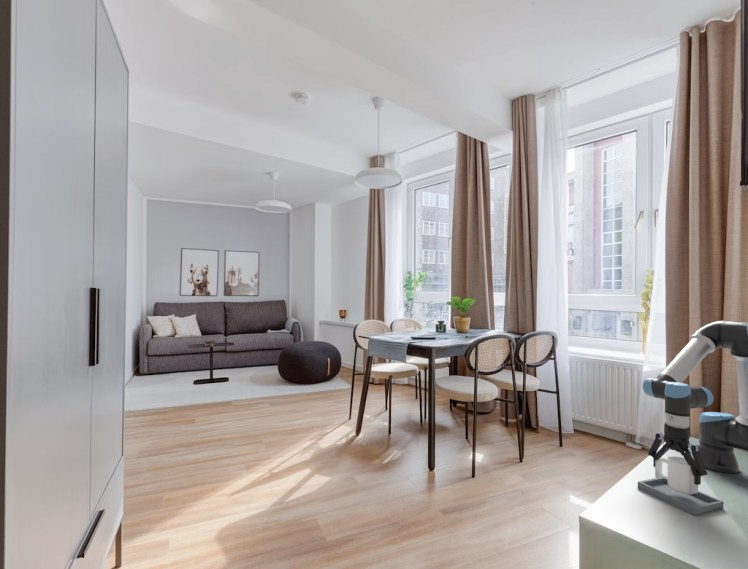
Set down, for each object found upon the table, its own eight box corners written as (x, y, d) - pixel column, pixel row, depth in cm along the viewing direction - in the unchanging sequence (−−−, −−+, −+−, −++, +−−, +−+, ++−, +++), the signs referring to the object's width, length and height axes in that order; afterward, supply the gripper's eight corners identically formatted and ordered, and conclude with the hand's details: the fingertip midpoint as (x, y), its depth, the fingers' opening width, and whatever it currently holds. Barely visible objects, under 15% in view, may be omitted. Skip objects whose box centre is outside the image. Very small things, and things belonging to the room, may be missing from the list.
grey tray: (664, 482, 157) (664, 476, 158) (723, 509, 139) (723, 501, 139) (637, 488, 152) (637, 481, 152) (695, 516, 133) (695, 508, 133)
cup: (691, 496, 139) (692, 467, 139) (652, 483, 149) (652, 455, 149) (699, 490, 144) (699, 462, 144) (660, 477, 154) (661, 451, 154)
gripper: (638, 416, 157) (636, 471, 156) (707, 437, 134) (706, 502, 134) (651, 414, 159) (650, 469, 159) (721, 435, 137) (720, 499, 137)
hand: (675, 484), depth 146 cm, fingers closed on cup, 12 cm apart
